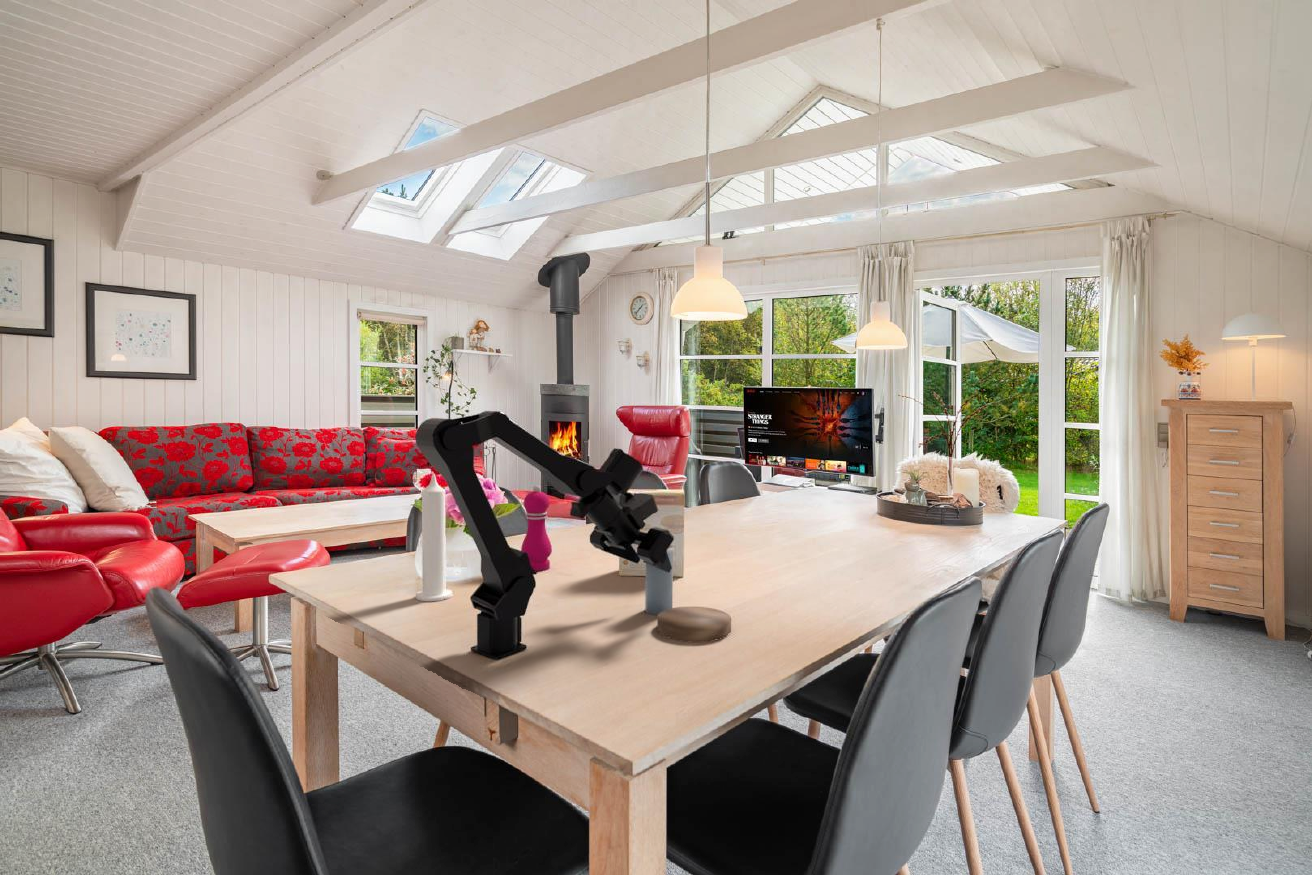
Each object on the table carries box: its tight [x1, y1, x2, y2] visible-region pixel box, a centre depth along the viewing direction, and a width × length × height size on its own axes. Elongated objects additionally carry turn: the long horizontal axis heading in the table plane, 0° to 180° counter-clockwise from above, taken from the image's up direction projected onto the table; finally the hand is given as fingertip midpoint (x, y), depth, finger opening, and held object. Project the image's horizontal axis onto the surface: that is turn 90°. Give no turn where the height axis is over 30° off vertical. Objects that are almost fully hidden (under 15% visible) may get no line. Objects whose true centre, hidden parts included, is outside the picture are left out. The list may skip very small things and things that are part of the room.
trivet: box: [656, 606, 732, 643], centre depth 124 cm, size 13×13×2 cm
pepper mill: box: [520, 484, 553, 572], centre depth 167 cm, size 7×7×20 cm
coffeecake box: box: [618, 488, 685, 578], centre depth 164 cm, size 15×7×20 cm, turn 88°
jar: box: [644, 545, 674, 616], centre depth 135 cm, size 5×5×12 cm
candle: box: [415, 473, 453, 602], centre depth 142 cm, size 7×7×25 cm
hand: (653, 565), depth 134 cm, fingers open, 9 cm apart
